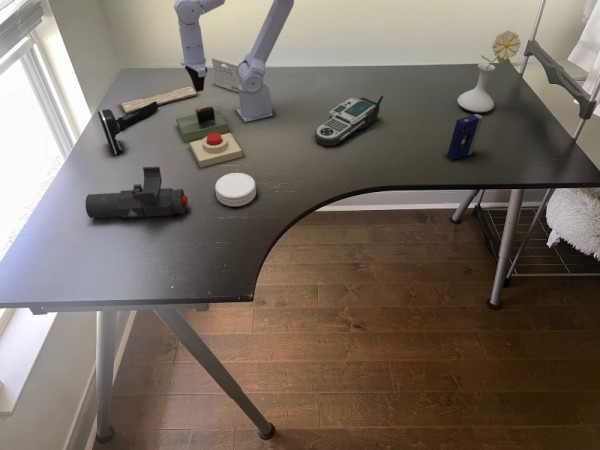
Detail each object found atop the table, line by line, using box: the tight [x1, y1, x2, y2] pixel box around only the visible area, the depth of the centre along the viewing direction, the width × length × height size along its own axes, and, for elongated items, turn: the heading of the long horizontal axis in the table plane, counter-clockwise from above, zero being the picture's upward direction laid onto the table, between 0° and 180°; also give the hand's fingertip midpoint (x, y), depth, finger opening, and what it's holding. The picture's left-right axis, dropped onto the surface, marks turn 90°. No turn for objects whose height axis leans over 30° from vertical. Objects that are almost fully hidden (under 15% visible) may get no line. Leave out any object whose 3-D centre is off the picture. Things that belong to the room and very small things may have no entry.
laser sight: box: [84, 166, 189, 219], centre depth 104 cm, size 10×22×10 cm, turn 95°
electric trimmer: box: [116, 102, 159, 131], centre depth 138 cm, size 4×16×3 cm, turn 142°
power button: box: [207, 133, 222, 146], centre depth 123 cm, size 4×4×2 cm
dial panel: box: [175, 109, 229, 143], centre depth 134 cm, size 13×9×3 cm
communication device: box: [314, 95, 384, 147], centre depth 133 cm, size 12×24×9 cm, turn 137°
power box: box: [189, 132, 243, 168], centre depth 125 cm, size 12×10×4 cm
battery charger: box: [97, 108, 124, 156], centre depth 124 cm, size 7×4×11 cm, turn 28°
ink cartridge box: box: [211, 58, 240, 93], centre depth 151 cm, size 2×11×10 cm, turn 57°
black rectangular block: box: [195, 106, 215, 123], centre depth 132 cm, size 5×2×4 cm, turn 115°
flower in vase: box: [456, 29, 522, 113], centre depth 137 cm, size 13×11×25 cm
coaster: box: [214, 172, 257, 208], centre depth 112 cm, size 10×10×4 cm
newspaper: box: [120, 86, 198, 115], centre depth 147 cm, size 24×7×2 cm, turn 121°
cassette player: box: [446, 113, 484, 161], centre depth 122 cm, size 7×2×12 cm, turn 118°
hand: (199, 90), depth 131 cm, fingers closed
